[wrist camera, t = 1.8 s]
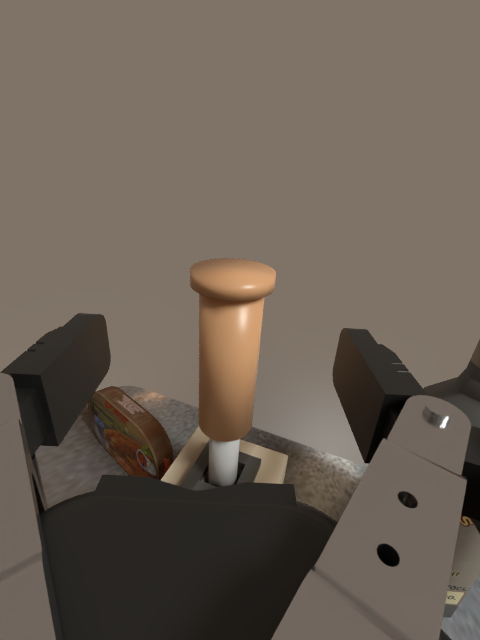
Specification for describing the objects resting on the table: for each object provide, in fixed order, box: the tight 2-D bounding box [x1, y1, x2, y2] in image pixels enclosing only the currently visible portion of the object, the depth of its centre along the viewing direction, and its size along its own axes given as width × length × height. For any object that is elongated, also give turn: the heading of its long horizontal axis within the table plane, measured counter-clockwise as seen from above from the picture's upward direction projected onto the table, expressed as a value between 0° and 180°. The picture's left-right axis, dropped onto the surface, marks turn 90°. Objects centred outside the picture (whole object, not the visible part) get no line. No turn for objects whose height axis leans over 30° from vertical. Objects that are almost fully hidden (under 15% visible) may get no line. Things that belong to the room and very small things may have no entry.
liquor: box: [423, 340, 480, 617], centre depth 26 cm, size 9×9×30 cm
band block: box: [161, 426, 288, 491], centre depth 32 cm, size 10×10×9 cm
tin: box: [88, 386, 173, 480], centre depth 40 cm, size 15×3×8 cm, turn 49°
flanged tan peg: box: [190, 258, 276, 487], centre depth 26 cm, size 6×6×21 cm
